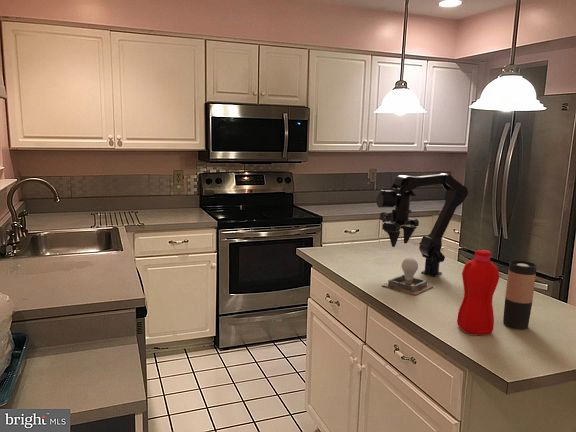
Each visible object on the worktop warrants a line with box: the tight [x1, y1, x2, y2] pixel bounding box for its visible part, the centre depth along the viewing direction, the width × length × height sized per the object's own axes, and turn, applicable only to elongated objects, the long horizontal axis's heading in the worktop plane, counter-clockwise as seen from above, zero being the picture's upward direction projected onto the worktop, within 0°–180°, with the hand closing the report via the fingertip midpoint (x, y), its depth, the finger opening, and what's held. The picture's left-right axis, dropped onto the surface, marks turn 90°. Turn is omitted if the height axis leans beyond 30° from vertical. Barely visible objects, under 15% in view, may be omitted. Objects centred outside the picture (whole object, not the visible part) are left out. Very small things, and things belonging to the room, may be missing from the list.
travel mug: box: [502, 259, 538, 331], centre depth 148 cm, size 8×8×20 cm
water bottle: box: [456, 249, 500, 336], centre depth 144 cm, size 9×11×25 cm
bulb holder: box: [381, 274, 434, 297], centre depth 183 cm, size 14×14×2 cm
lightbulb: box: [401, 257, 419, 285], centre depth 182 cm, size 6×6×11 cm
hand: (399, 245), depth 194 cm, fingers open, 9 cm apart
